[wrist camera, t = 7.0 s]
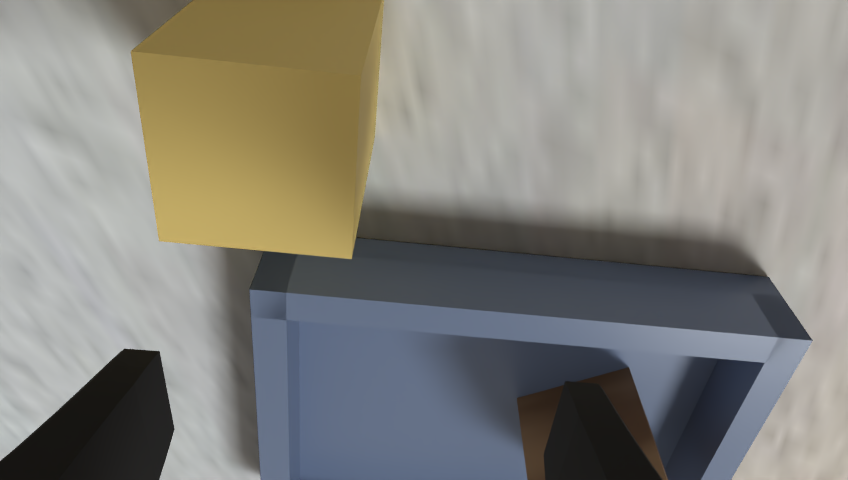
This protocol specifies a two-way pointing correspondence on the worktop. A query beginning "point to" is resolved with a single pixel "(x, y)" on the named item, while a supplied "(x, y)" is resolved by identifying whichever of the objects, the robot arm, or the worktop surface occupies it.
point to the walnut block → (542, 410)
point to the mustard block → (261, 122)
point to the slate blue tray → (501, 358)
